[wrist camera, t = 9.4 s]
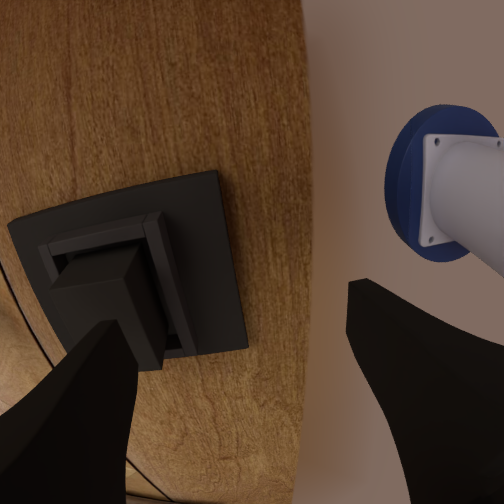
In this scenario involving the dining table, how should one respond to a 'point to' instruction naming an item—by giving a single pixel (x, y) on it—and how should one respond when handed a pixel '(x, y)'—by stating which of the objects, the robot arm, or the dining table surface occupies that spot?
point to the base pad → (148, 255)
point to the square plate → (144, 501)
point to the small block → (114, 300)
